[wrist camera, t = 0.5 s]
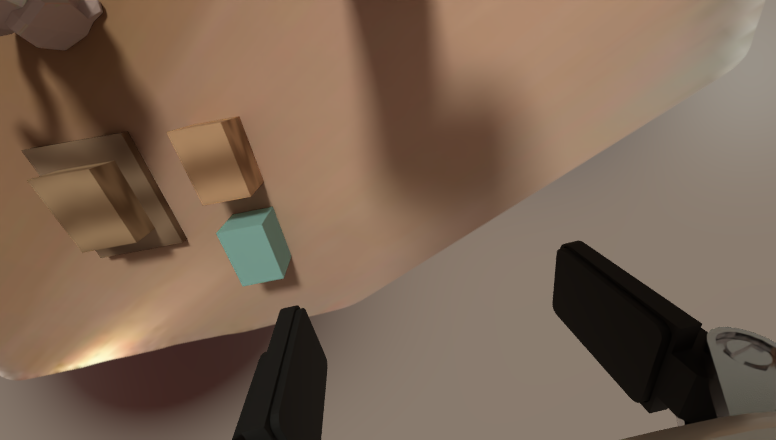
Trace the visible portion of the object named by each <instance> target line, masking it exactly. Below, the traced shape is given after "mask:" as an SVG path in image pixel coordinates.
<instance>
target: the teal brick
mask: <svg viewBox="0 0 776 440" xmlns="http://www.w3.org/2000/svg"><path fill="white" fill-rule="evenodd" d="M216 234H217V236H218V238H219V240H220V242H221V244H222V246H223V248H224V250H225V252H226V254H227V256H228V258H229V260H230V262H231V264H232V266H233V268H234V270H235V272H236V274H237V276H238V278H239V280H240V282H241V284H242V286H247V285H253V284H258V283H263V282H268V281H273V280H278V279H283V278H284V276H285V273H286V270H287V268H288V265H289V262H290V259H291V254H290V251H289V248H288V246H287V243H286V240H285V238H284V235H283V233H282V230H281V227H280V225H279V222H278V219H277V217H276V214H275V212H274V209H273V207H269V208H264V209H259V210H253V211H248V212H243V213H238V214H233V215H232V216H231V217H230V218H229V219H228V221H227V222H226V223H225V224H224V225H223V226H222V227H221V228H220V230H219V231H218V232H217V233H216Z"/></svg>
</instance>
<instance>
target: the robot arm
mask: <svg viewBox="0 0 776 440" xmlns="http://www.w3.org/2000/svg"><path fill="white" fill-rule="evenodd" d="M553 309H554V311H555V313H556V314H557V316H558V317H559V318H560V319H561V320H562V321H563V322H564V324H565V325H566V326H567V327H568V328H569V329H570V330H571V331H572V333H573V334H574V335H575V336H576V337H577V338H578V339H579V341H580V342H581V343H582V344H583V345H584V346H585V347H586V348H587V350H588V351H589V352H590V353H591V354H592V355H593V356H594V357H595V359H596V360H597V361H598V362H599V363H600V364H601V365H602V366H603V368H604V369H605V370H606V371H607V372H608V373H609V374H610V376H611V377H612V378H613V379H614V380H615V381H616V382H617V383H618V385H619V386H620V387H621V388H622V389H623V390H624V391H625V393H626V394H627V395H628V396H629V397H630V398H631V399H632V400H633V401H635V402H637V403H640V404H641V405H642V406H643V407H644V408H645V409H646V410H647V411H648V412H649V413H653V412H657V411H662V410H666V409H667V408H669V409H670V410H671V411H672V412H673V413H674V414H675V415H676V418H677V423H678V427H673V428H669V429H664V430H659V431H655V432H651V433H647V434H643V435H638V436H634V437H630V438H626V439H622V440H776V343H775V342H773V341H772V340H770V339H768V338H766V337H763V336H761V335H758V334H756V333H754V332H750V331H747V330H743V329H739V328H731V327H718V328H715V329H712V330H710V331H709V333H708V332H706V331H705V330H704V329H702V328H701V326H702V323H700V322H699V321H697V320H696V319H694V318H693V317H691V316H690V315H688V314H687V313H686V312H684V311H683V310H681V309H680V308H678V307H677V306H675V305H674V304H673V303H671V302H670V301H668V300H667V299H665V298H664V297H662V296H661V295H659V294H658V293H656V292H655V291H654V290H652V289H651V288H649V287H648V286H646V285H645V284H643V283H642V282H640V281H639V280H637V279H636V278H635V277H633V276H632V275H630V274H629V273H627V272H626V271H624V270H623V269H621V268H620V267H619V266H617V265H616V264H614V263H612V262H611V261H610V260H608V259H607V258H605V257H604V256H602V255H601V254H600V253H598V252H596V251H595V250H594V249H592V248H591V247H589V246H588V245H587V244H585V243H584V242H582V241H575V242H571V243H566V244H563V245H562V246H561V248H560V249H559V250H558V251H557V256H556V269H555V281H554V292H553ZM326 377H327V359H326V357H325V354H324V352H323V349H322V347H321V345H320V342H319V340H318V338H317V335H316V333H315V331H314V328H313V326H312V324H311V321H310V319H309V317H308V314H307V312H306V310H305V309H304V308H302V309H300V307H299V306H297V305H296V306H292V307H288V308H283V309H281V310H280V313H279V316H278V319H277V322H276V325H275V328H274V331H273V334H272V337H271V341H270V344H269V347H268V350H267V352H264V353H263V354H262V355H261V357H260V359H259V362H258V365H257V368H256V371H255V373H254V377H253V380H252V382H251V385H250V388H249V391H248V394H247V397H246V400H245V403H244V406H243V409H242V412H241V415H240V418H239V421H238V424H237V427H236V430H235V432H234V436H233V438H232V440H321V434H322V422H323V411H324V400H325V389H326Z"/></svg>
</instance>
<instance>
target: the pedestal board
mask: <svg viewBox="0 0 776 440" xmlns="http://www.w3.org/2000/svg"><path fill="white" fill-rule="evenodd" d="M21 151H22V152H23V154H24V155H25V156H26V158H27V159H28V160H29V162H30V163H31V164H32V166H33V167H34V168H35V170H36V171H37V172H38V174H39V175H40V176H39V177H36V178H33V179H29V180H27V181H28V183H29V184H30V185H31V187H32V188H33V189H34V191H35V192H36V193H37V194H38V196H39V197H40V198H41V200H42V201H43V202H44V204H45V205H46V206H47V207H48V209H49V210H50V211H51V213H52V214H53V215H54V217H55V218H56V219H57V220H58V222H59V223H60V224H61V226H62V227H63V228H64V230H65V231H66V232H67V233H68V235H69V236H70V237H71V239H72V240H73V241H74V243H75V244H76V245H77V246H78V248H79V249H80V250H81V252H82V253H83V252H89V251H94V250H95V251H96V252H97V253H98V255H99V256H100V257H101V258H104V257H109V256H114V255H120V254H125V253H130V252H136V251H141V250H146V249H152V248H157V247H162V246H168V245H173V244H179V243H183V242H184V241H185V240H186V239H187V238H186V236H185V234H184V232H183V231H182V229H181V227H180V225H179V223H178V222H177V220H176V218H175V216H174V214H173V213H172V211H171V209H170V207H169V205H168V204H167V202H166V200H165V198H164V196H163V195H162V193H161V191H160V189H159V187H158V186H157V184H156V182H155V180H154V178H153V176H152V175H151V173H150V171H149V169H148V167H147V166H146V164H145V162H144V160H143V158H142V157H141V155H140V153H139V151H138V149H137V148H136V146H135V144H134V142H133V140H132V139H131V137H130V135H129V133H128V132H123V133H117V134H111V135H105V136H100V137H94V138H88V139H82V140H77V141H71V142H65V143H59V144H54V145H48V146H42V147H36V148H31V149H26V150H21Z"/></svg>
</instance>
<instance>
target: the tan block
mask: <svg viewBox="0 0 776 440" xmlns="http://www.w3.org/2000/svg"><path fill="white" fill-rule="evenodd" d="M166 133H167V135H168V137H169V139H170V141H171V143H172V145H173V147H174V149H175V151H176V153H177V155H178V157H179V159H180V161H181V163H182V165H183V167H184V169H185V171H186V173H187V175H188V177H189V179H190V181H191V183H192V185H193V187H194V189H195V191H196V193H197V195H198V197H199V199H200V201H201V203H202V205H203V206H204V205H209V204H215V203H220V202H225V201H231V200H236V199H241V198H247V197H251V196H252V195H253V194H254V192H255V191H256V190H257V189H258V188H259V187H260V186H261V184H262V183H263V182H264V181H263V178H262V176H261V173H260V170H259V168H258V165H257V162H256V160H255V157H254V154H253V152H252V149H251V146H250V144H249V141H248V138H247V136H246V133H245V130H244V128H243V125H242V122H241V120H240V117H233V118H228V119H222V120H216V121H211V122H205V123H200V124H194V125H190V126H187V127H183V128H180V129H176V130H172V131H169V132H166Z"/></svg>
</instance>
